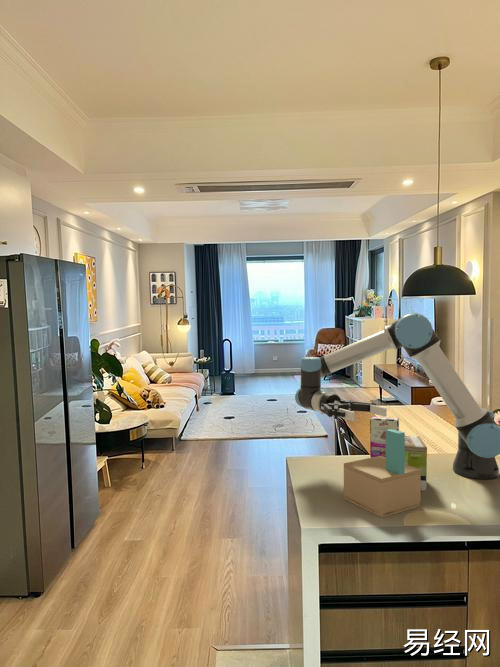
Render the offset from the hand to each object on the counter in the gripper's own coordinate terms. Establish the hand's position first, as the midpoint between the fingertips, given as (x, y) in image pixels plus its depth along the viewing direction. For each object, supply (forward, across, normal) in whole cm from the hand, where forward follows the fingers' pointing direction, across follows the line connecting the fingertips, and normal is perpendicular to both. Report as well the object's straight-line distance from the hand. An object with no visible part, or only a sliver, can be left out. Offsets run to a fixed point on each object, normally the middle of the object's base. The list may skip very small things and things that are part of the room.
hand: (370, 414), depth 140 cm
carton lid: (+5, 0, -16) cm, 17 cm away
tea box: (-3, -21, -26) cm, 34 cm away
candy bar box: (-27, -35, -26) cm, 52 cm away
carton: (+5, 0, -26) cm, 27 cm away
